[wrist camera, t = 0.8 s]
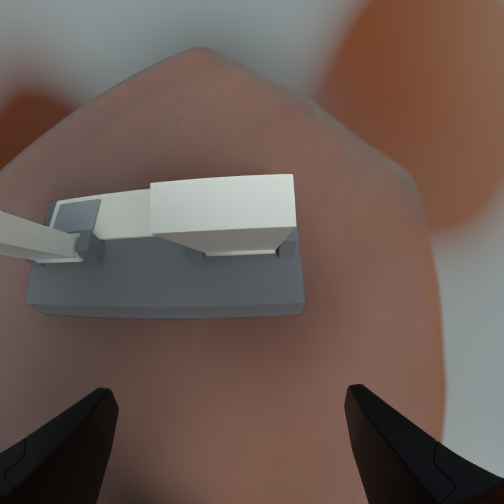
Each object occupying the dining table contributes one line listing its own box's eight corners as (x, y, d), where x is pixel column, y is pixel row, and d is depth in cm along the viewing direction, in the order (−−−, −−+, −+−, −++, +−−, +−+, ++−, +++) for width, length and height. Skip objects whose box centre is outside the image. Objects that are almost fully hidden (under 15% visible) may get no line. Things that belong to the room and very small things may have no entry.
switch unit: (300, 314, 22) (310, 289, 17) (44, 314, 22) (6, 293, 18) (288, 201, 27) (293, 158, 22) (65, 218, 27) (38, 186, 22)
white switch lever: (274, 254, 21) (297, 233, 9) (209, 257, 21) (149, 240, 9) (272, 224, 21) (291, 167, 9) (208, 228, 21) (150, 177, 9)
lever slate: (87, 262, 21) (-32, 239, 9) (46, 264, 21) (-68, 245, 9) (88, 236, 21) (-27, 197, 9) (47, 240, 21) (-64, 209, 9)
